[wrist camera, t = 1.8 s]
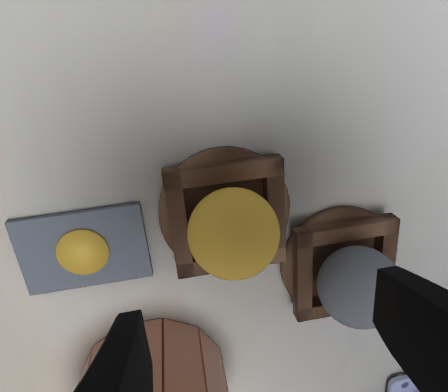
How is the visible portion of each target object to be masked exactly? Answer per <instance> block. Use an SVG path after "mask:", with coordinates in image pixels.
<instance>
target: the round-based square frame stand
mask: <svg viewBox="0 0 448 392" xmlns="http://www.w3.org/2000/svg"><path fill="white" fill-rule="evenodd" d="M162 179H163V186H164V187H163V190H162V193H161V197H160V202H159V223H160V228H161V232H162V234H163V236H164V239H165V241H166V242H167V244H168V246H169V247H170V248H171V249H172V251H173V252H174V255H175V261H176V267H177V274H178V279H183V278H189V277H195V276H201V275H207V274H209V273H208V272H206V271H205V270H204V269H203V268H202V267H201V266H200V265H199V264H198V263H197V262H196V260H195V259H194V257H193V255H192V253H191V251H190V248H189V244H188V239H187V229H188V223H189V219H190V217H191V214H192V212H193V210H194V209H195V207H196V206H197V205H198V203H199V202H200V201H201V200H202V199H203V198H205V197H206V196H207V195H209V194H210V193H212V192H214V191H216V190H219V189H223V188H229V187H238V188H244V189H248V190H251V191H253V192H255V193H257V194H258V195H260V196H261V197H263V198H264V199H265V200H266V201H267V202H268V203H269V205H270V206H271V207H272V209H273V210H274V212H275V214H276V216H277V219H278V223H279V227H280V241H279V246H278V249H277V252H276V254H275V256H274V258H273V259H272V261H271V262H270V263H269V264H274V263H280V262H286V238H285V227H286V224H287V221H288V217H289V208H290V203H289V195H288V191H287V188H286V185H285V183H284V158H283V157H282V156H281V155H280V154H270V155H262V156H260V155H258V154H256V153H254V152H252V151H249V150H246V149H243V148H238V147H229V146H225V147H215V148H210V149H207V150H204V151H201V152H199V153H196V154H194V155H192V156H191V157H189V158H188V159H186V160H185V161H183V162H182V163H181V164H180V165H179V166H177V167H169V168H162Z"/></svg>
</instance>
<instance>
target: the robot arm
mask: <svg viewBox="0 0 448 392" xmlns="http://www.w3.org/2000/svg"><path fill="white" fill-rule="evenodd" d="M373 323H374V325H375V327H376V329H377V331H378V332H379V334H380V336H381V338H382V340H383V341H384V343H385V345H386V346H387V348H388V350H389V351H390V353H391V354H392V356H393V357H394V358H395V360H396V361H397V362H398V364H399V365H400V366H401V368H402V369H403V370H404V372H405V373H406V375H402V376H397V377H394V378H392V379H390V381H389V383H388V389H387V392H448V290H447V289H445V288H443V287H441V286H439V285H437V284H435V283H433V282H431V281H429V280H427V279H424V278H422V277H420V276H418V275H416V274H414V273H412V272H410V271H407V270H405V269H403V268H400V267H398V266H391V267H385V268H379V269H377V278H376V289H375V299H374V310H373ZM73 392H153V363H152V358H151V354H150V349H149V344H148V340H147V335H146V330H145V326H144V321H143V316H142V312H141V310H136V311H130V312H125V313H119V315H118V316H117V317H116V319H115V321H114V323H113V325H112V327H111V329H110V331H109V332H108V334H107V336H106V338H105V340H104V342H103V344H102V345H101V347H100V349H99V351H98V353H97V354H96V356H95V358H94V359H93V361H92V363H91V364H90V366H89V368H88V369H87V371H86V373H85V374H84V376H83V378H82V379H81V381H80V382H79V384H78V385H77V387H76V388H75V390H74V391H73Z"/></svg>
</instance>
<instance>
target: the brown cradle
mask: <svg viewBox="0 0 448 392" xmlns="http://www.w3.org/2000/svg"><path fill="white" fill-rule="evenodd" d="M399 225H400V219H399V218H398V217H396V216H395V215H394V214H392V213H386V214H379V215H374V214H372V213H371V212H369V211H367V210H365V209H362V208H358V207H353V206H340V207H334V208H330V209H327V210H324V211H321V212H319V213H317V214H315V215H313V216H312V217H310V218H308V219H307V220H306V221H304V222H303V223H302V224H301V225H300V226H299V227H294V228H292V235H291V236H290V238H289V239H288V241H287V243H286V262H281V263H280V270H281V276H282V280H283V282H284V284H285V286H286V288H287V290H288V292H289V294H290V295H291V297H292V298H293V313H294V315H295V317H296V319H297V321H298V322H302V321H308V320H313V319H319V318H324V317H329V316H331V315H330V314H329V313H328V312H327V311H326V310H325V308H324V307H323V305H322V303H321V301H320V299H319V296H318V291H317V276H318V272H319V270H320V267H321V265H322V264H323V262H324V261H325V260H326V258H327V257H328V256H329V255H331V254H332V253H333V252H335V251H337V250H339V249H341V248H344V247H348V246H366V247H369V248H373V249H375V250H377V251H379V252H381V253H382V254H384V255H385V256H386V257H388V258H389V259H390V260H391V261H392V262H393V263H394V265H395V261H396V252H397V243H398V234H399Z"/></svg>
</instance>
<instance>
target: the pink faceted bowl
mask: <svg viewBox="0 0 448 392" xmlns="http://www.w3.org/2000/svg"><path fill="white" fill-rule="evenodd" d="M144 326H145V330H146V335H147V340H148V344H149V349H150V354H151V358H152V363H153V392H228V387H227V382H226V377H225V372H224V366H223V361H222V356H221V351H220V349H219V347H218V346H217V345H216V344H215V343H214V342H213V341H212V340H211V339H210V338H209V337H208V336H207V335H206V334H205V333H204V332H203V331H202V330H201V329H200V328H199V329H198V328H197V327H195V326H192V325H188V324H184V323H180V322H176V321H172V320H168V319H164V320H163V322H162V318H161V319H155V320H149V321H144ZM105 338H106V337H105ZM105 338H104V339H103V340H101V341H100V342H98V343H97V344H95V345H94V346H93V347H92V349H91V351H90V354H89V356H88V358H87V361H86V363H85V366H84V368H83V370H82V373H81V376H80V380H79V382H80V381H81V379H82V378H83V376H84V374H85V373H86V371H87V369H88V368H89V366H90V364H91V363H92V361H93V359H94V358H95V356H96V354H97V353H98V351H99V349H100V347H101V345H102V344H103V342H104V340H105Z"/></svg>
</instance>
